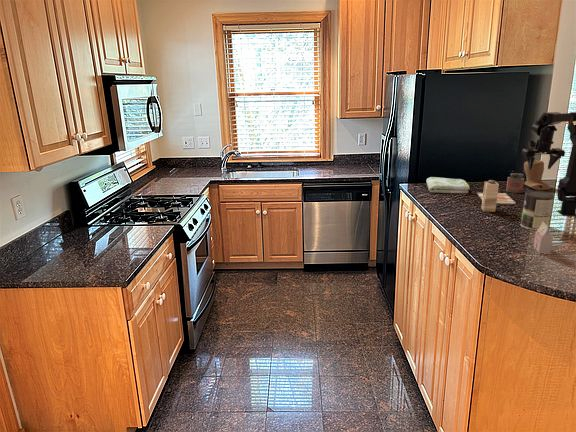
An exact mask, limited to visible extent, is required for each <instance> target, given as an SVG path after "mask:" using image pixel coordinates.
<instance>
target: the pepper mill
mask: <svg viewBox="0 0 576 432" xmlns="http://www.w3.org/2000/svg"><path fill="white" fill-rule="evenodd" d="M483 184H484V185H483V192H482V193H483V199H481V200H482V201H481V210H482V211H483V212H490V213H491V212H492V213H495V212H496V209H497V204H496V203H497V195H498V193H499V187H500V184H499V183H498V182H497V181H496V180H493V179H489V180H487V181H484V182H483Z"/></svg>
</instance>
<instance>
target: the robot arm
mask: <svg viewBox="0 0 576 432" xmlns="http://www.w3.org/2000/svg"><path fill="white" fill-rule="evenodd" d="M564 122H568V124H567V126H566V127H567V130H568V132H569V139H570V142H571V150H570V153H569V154H570V155H569V159H568V164H567V167H566V173H565V176H564V177H563V178H560V179H559V180H558V186H557V188H556V189H557V200H558V201H559V202H561V207H560V209H559V210H557V213H559V214H561V216H569V217H576V123H575V124H574V122H576V112H575V111H573V112H569V113H568V112H567V113H564V112H563V113H561V112H559V111H558V112H557V111H554V112H553V111H551V112H548V111H547V112H543V113H542V115H540V117H539V118H538V120H535V123H533V124H532V125H531V127H530V132H531V134H534V135H535V136H539V138H538V139H537V140H536V142H535V140H529V141H528V142H527V147H528V148H523V149H522V150H521V153H520V154H521V155H522V156H523V157H525V158H526V162H527V161H528V165H529V169H530V170H531V169H532V166H533V162H534V161H535V159H536V158H535V156H536V155H537V156H538V155H549V160H548V165H547V170H550V169H551V168H552V167H553V166H554V165H555V164H556V162H557V161H558V160H560V159H562V157H565V155H566V150H564V149H563V148H559V147H554V148H553V147H552V145H554V141H553V139H554V134H555V132H556V131H558V129H557V127H556V125H558V124H561V123H564Z"/></svg>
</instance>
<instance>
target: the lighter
mask: <svg viewBox="0 0 576 432" xmlns="http://www.w3.org/2000/svg"><path fill="white" fill-rule="evenodd" d="M524 174H525V173H524ZM524 174H523V173H517V172H515V173H510V176H507V181H506V189H505V192H506V193H507V192H508V193H516V194H517V193H518V194H521V193H523V190H524V189H523V188H524V184H525V183H524V182H525V178H524Z"/></svg>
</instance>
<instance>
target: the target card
mask: <svg viewBox="0 0 576 432" xmlns="http://www.w3.org/2000/svg"><path fill="white" fill-rule="evenodd" d="M476 194H477V195H478V197H479V198H480V199H481V200H482V199H483V192H477V193H476ZM500 204H501V205H516V204H517V203H516V201H515V200H513V199H512V197H510V196H509V195H508V194H507V193H505V192H504V193H501V192H498V195H497V203H496V205H500Z"/></svg>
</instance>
